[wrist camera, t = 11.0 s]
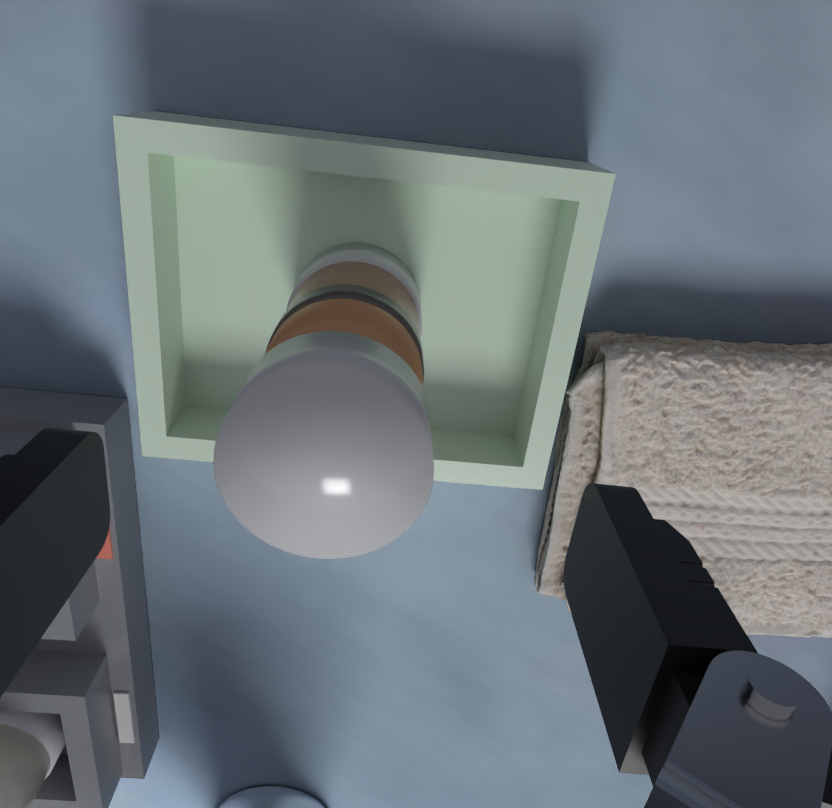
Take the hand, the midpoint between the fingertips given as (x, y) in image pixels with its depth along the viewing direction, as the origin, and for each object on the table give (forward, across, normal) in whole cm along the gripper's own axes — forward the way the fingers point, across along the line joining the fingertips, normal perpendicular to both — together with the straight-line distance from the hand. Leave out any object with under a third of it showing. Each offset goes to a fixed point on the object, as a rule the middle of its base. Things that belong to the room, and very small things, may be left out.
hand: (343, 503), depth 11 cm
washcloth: (+13, -16, +5) cm, 21 cm away
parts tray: (+12, 0, 0) cm, 12 cm away
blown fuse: (+11, +1, 0) cm, 11 cm away
